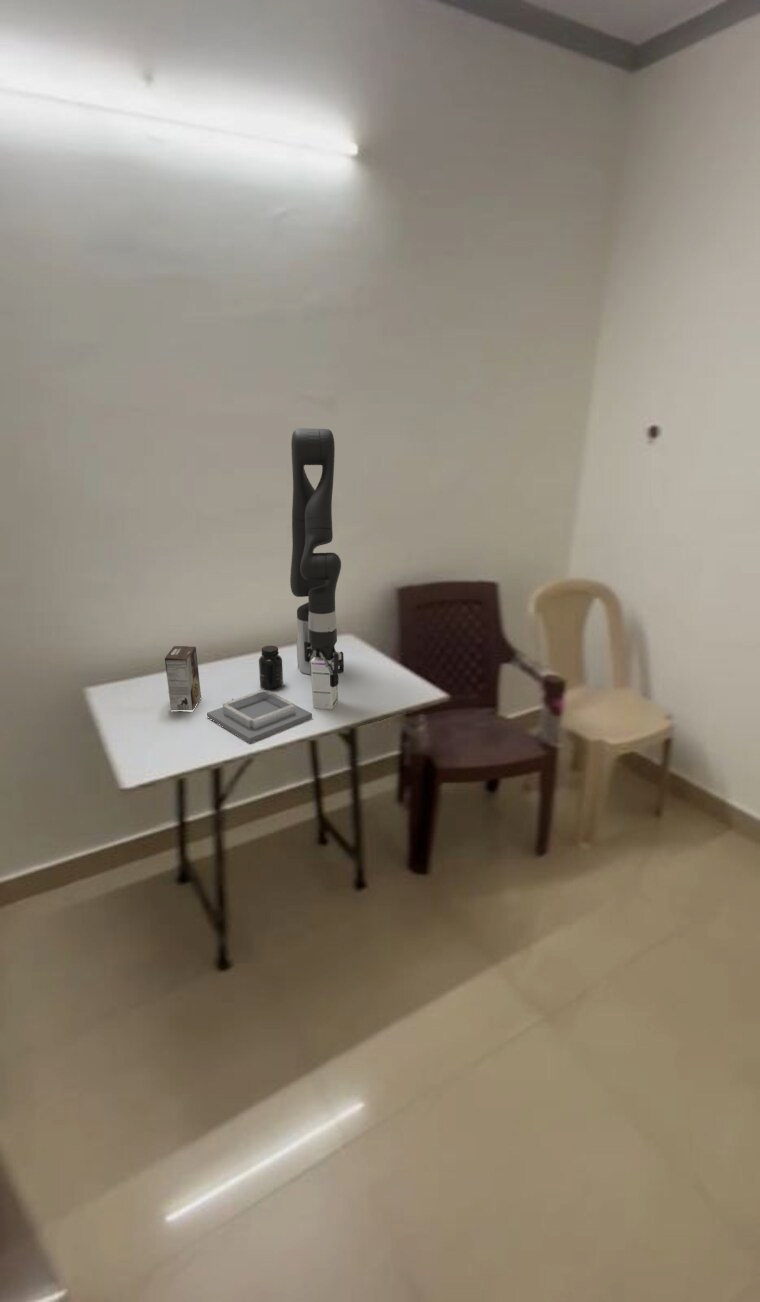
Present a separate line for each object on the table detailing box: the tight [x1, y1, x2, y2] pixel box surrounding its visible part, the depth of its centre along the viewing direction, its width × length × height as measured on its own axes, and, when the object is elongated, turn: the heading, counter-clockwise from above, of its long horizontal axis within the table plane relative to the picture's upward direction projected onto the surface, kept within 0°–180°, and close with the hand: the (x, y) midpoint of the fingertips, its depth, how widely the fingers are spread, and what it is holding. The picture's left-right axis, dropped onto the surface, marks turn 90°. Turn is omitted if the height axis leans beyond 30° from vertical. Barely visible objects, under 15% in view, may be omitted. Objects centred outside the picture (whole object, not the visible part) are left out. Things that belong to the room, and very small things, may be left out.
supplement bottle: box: [258, 645, 284, 691], centre depth 213 cm, size 7×7×12 cm
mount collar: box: [222, 689, 296, 730], centre depth 195 cm, size 14×14×2 cm
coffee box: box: [164, 645, 202, 711], centre depth 200 cm, size 9×6×16 cm
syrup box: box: [310, 657, 339, 710], centre depth 201 cm, size 6×6×14 cm
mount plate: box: [206, 700, 313, 744], centre depth 196 cm, size 20×20×2 cm
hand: (324, 681), depth 201 cm, fingers closed on syrup box, 7 cm apart
